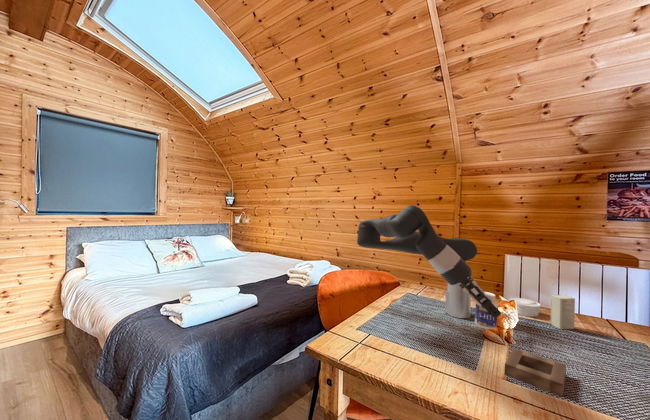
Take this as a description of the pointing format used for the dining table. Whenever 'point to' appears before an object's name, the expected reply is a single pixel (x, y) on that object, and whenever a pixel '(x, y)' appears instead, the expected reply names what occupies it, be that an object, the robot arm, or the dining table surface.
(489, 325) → the pill bottle
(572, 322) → the skincare box
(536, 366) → the socket block
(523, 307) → the ramekin
